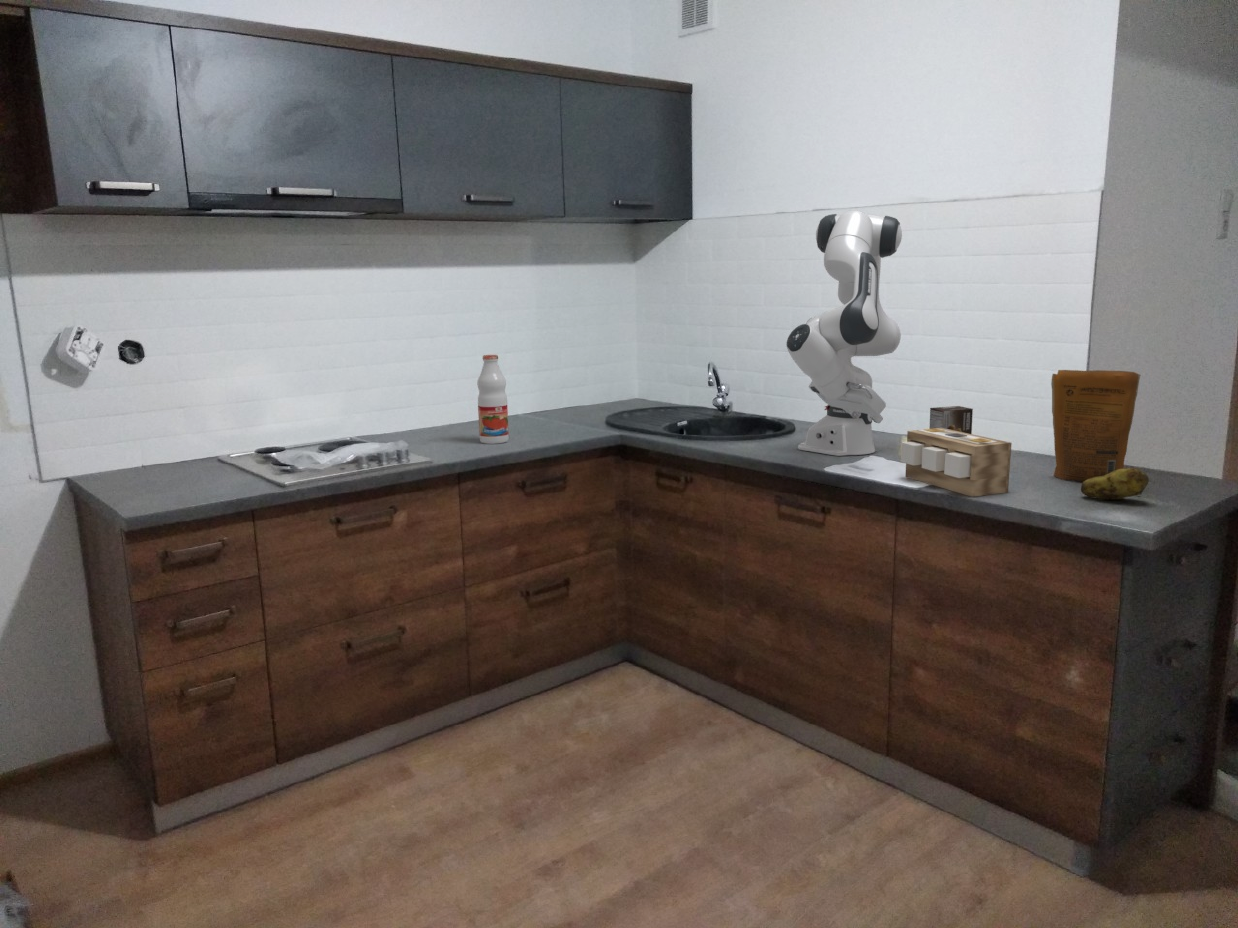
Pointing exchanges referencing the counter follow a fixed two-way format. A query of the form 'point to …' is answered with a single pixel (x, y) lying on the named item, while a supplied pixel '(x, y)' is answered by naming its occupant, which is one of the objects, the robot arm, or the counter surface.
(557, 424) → the counter surface
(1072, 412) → the pancake mix bag
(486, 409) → the fruit juice
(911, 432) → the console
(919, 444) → the button
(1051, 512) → the counter surface
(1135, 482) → the potato
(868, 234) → the robot arm
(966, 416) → the coffee box
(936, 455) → the button middle
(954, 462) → the button
